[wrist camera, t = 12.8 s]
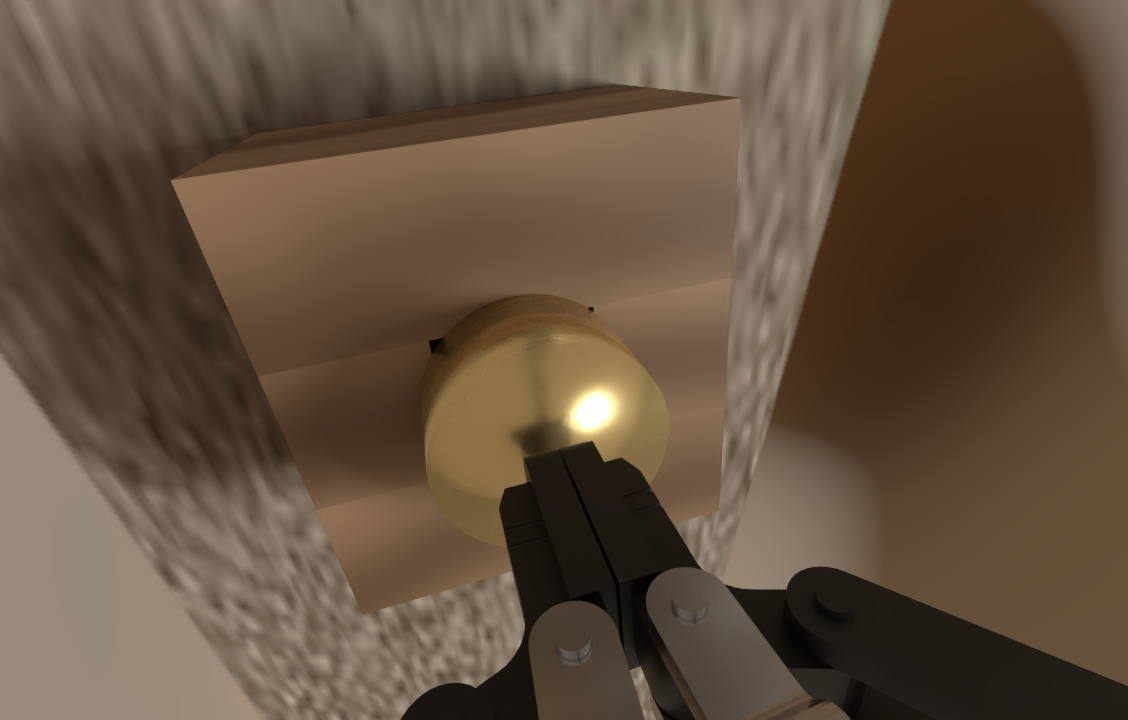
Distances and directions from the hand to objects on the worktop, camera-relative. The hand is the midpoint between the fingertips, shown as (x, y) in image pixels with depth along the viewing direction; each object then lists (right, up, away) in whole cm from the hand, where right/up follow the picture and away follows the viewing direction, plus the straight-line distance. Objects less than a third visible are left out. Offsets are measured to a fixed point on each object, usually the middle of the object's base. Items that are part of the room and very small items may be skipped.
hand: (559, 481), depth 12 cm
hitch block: (-3, +5, +10) cm, 12 cm away
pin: (-3, +5, +9) cm, 11 cm away
